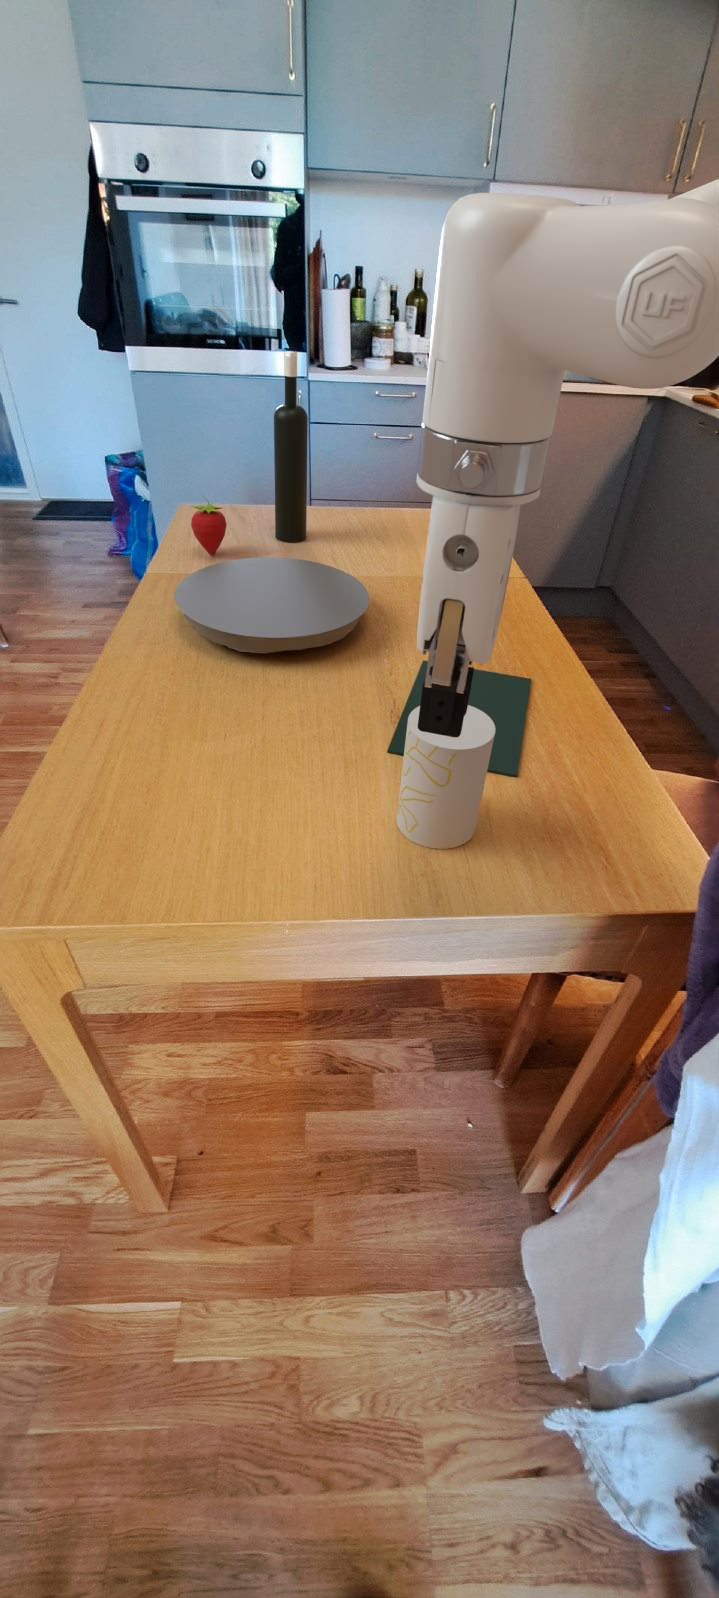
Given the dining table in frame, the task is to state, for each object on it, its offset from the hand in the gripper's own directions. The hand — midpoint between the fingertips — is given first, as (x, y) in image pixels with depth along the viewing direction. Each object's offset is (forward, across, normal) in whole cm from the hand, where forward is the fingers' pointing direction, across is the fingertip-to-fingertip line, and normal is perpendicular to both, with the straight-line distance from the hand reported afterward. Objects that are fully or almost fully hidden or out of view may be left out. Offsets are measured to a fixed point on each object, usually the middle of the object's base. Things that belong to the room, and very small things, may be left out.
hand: (442, 720), depth 55 cm
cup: (+19, +11, 0) cm, 22 cm away
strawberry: (+19, +70, +50) cm, 88 cm away
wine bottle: (+19, +84, +40) cm, 95 cm away
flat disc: (+19, +49, +31) cm, 61 cm away
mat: (+19, +33, 0) cm, 38 cm away
